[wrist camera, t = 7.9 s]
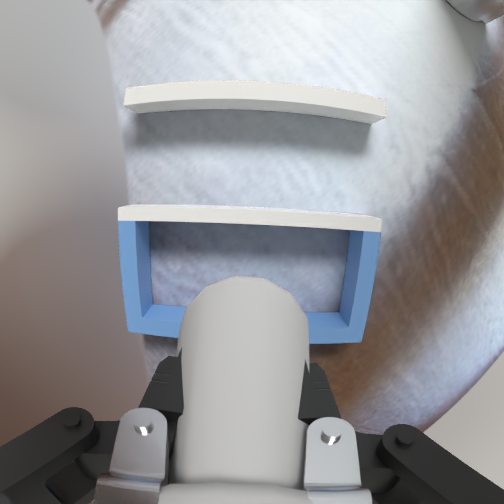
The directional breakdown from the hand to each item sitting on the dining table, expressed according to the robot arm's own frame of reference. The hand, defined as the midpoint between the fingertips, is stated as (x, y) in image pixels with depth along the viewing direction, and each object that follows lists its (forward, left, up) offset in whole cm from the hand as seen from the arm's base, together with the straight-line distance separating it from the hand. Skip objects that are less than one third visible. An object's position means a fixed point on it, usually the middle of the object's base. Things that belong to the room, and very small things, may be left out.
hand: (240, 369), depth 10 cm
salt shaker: (0, 0, -5) cm, 5 cm away
